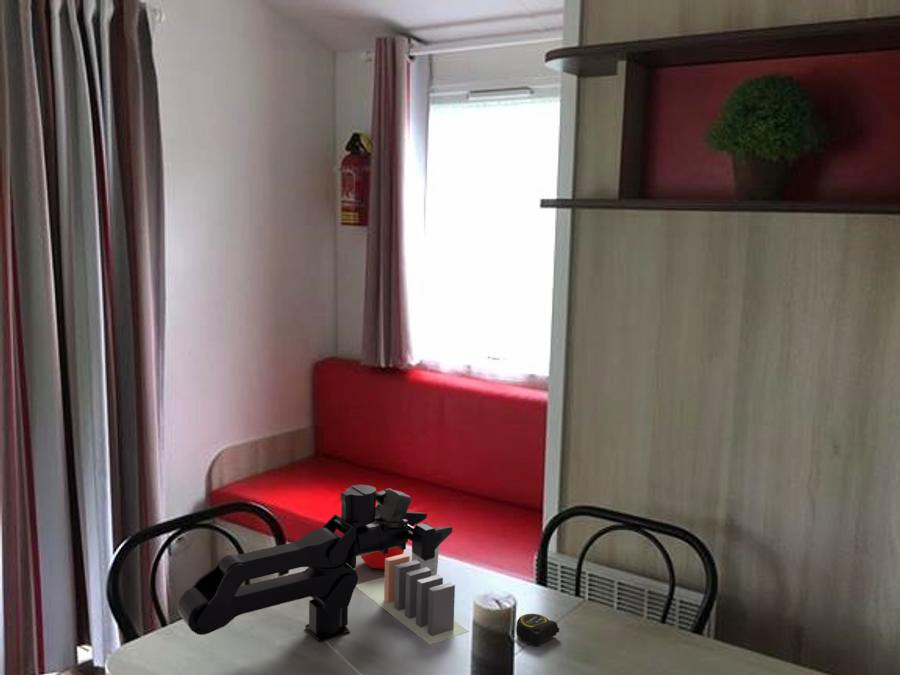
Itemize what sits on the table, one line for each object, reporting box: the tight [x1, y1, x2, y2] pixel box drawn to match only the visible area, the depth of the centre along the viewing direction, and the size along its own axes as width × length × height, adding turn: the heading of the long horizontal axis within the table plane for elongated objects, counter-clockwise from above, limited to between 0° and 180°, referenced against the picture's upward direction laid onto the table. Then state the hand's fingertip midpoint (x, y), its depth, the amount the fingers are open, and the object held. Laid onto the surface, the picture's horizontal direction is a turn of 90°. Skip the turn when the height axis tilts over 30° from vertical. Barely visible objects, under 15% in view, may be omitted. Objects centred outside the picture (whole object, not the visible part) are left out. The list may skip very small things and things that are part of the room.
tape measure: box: [515, 613, 560, 646], centre depth 153 cm, size 7×7×4 cm
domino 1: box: [384, 552, 411, 603], centre depth 166 cm, size 5×2×9 cm, turn 126°
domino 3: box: [405, 567, 431, 619], centre depth 160 cm, size 5×2×9 cm, turn 126°
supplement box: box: [410, 545, 440, 576], centre depth 173 cm, size 6×6×12 cm
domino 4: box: [416, 574, 444, 627], centre depth 157 cm, size 5×2×9 cm, turn 126°
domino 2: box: [394, 560, 420, 611], centre depth 163 cm, size 5×2×9 cm, turn 126°
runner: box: [355, 576, 469, 646], centre depth 163 cm, size 9×29×1 cm, turn 36°
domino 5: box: [427, 582, 456, 636], centre depth 154 cm, size 5×2×9 cm, turn 126°
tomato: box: [360, 547, 405, 570], centre depth 183 cm, size 10×11×11 cm
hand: (438, 522), depth 166 cm, fingers open, 9 cm apart
